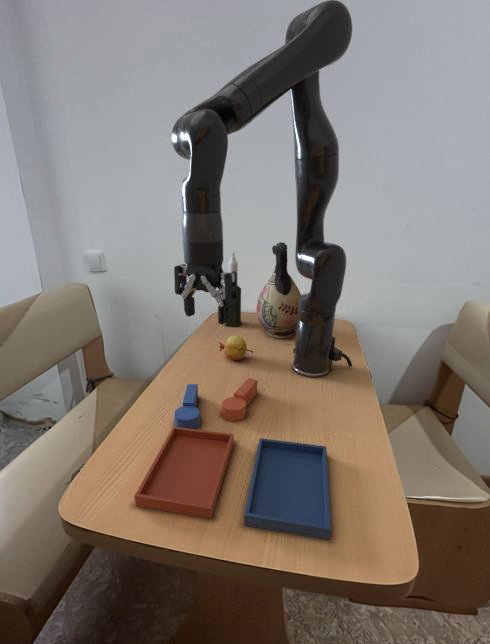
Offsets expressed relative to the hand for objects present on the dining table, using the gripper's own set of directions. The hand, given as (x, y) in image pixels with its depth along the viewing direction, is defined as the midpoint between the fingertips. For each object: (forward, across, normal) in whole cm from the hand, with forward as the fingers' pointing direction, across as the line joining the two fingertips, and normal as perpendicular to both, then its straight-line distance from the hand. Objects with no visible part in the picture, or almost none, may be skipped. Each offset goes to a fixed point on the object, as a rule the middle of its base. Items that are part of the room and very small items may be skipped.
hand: (206, 319), depth 76 cm
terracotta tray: (+20, -11, +19) cm, 30 cm away
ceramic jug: (+21, +7, -46) cm, 52 cm away
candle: (+21, +25, -46) cm, 56 cm away
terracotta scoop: (+21, -6, -5) cm, 22 cm away
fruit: (+21, +9, -23) cm, 32 cm away
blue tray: (+20, -26, +12) cm, 36 cm away
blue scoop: (+20, +2, +5) cm, 21 cm away
